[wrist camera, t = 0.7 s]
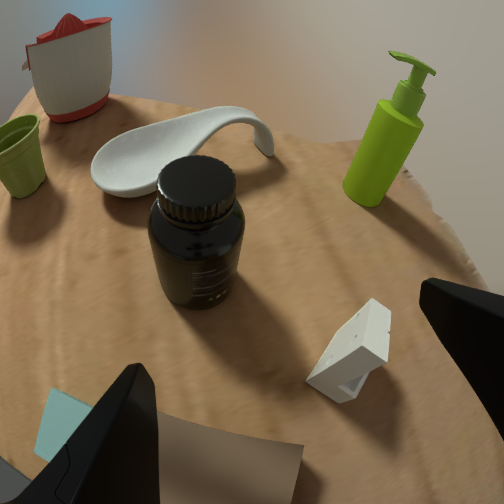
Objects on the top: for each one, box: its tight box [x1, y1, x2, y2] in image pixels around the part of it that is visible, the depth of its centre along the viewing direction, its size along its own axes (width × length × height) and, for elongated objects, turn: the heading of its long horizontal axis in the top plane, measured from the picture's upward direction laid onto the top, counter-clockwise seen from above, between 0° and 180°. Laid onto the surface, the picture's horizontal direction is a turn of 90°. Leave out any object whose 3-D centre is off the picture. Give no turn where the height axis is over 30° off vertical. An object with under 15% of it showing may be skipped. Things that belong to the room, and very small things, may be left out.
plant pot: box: [0, 114, 46, 198], centre depth 27 cm, size 9×9×9 cm
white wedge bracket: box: [305, 298, 391, 404], centre depth 20 cm, size 4×10×9 cm, turn 144°
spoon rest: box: [91, 106, 274, 198], centre depth 33 cm, size 24×12×7 cm, turn 120°
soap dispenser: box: [343, 51, 436, 207], centre depth 29 cm, size 6×7×20 cm
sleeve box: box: [157, 411, 304, 504], centre depth 14 cm, size 9×11×5 cm
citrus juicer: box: [22, 13, 112, 123], centre depth 34 cm, size 16×17×20 cm
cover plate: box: [34, 387, 93, 462], centre depth 15 cm, size 6×14×3 cm, turn 79°
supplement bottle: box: [147, 155, 245, 310], centre depth 21 cm, size 7×7×12 cm
